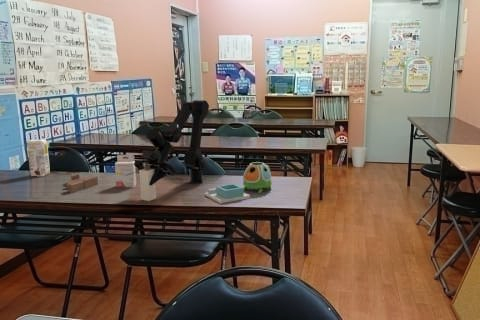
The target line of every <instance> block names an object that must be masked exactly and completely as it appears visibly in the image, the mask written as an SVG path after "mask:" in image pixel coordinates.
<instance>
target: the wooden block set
mask: <svg viewBox="0 0 480 320" xmlns="http://www.w3.org/2000/svg"><path fill="white" fill-rule="evenodd" d="M98 179H99V178H98V176H97V175H87V176H84V177H80V174H79V173H73V172H72V173H70V180H71V181H67V182H65V188H66V189H67V193H68V194H73V192H74V193H77V192H79V190H80V191H82V189H83V190H86V189H89V188H93V187H96V186H99V180H98ZM92 186H93V187H92ZM76 191H77V192H76Z"/></svg>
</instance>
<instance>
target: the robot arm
mask: <svg viewBox="0 0 480 320" xmlns="http://www.w3.org/2000/svg"><path fill="white" fill-rule="evenodd" d="M209 109H210V105H209V103H208V102H207V100H199V99H197V100H196V99H195V100H193V101H185V102H183V103H182V107H181V109H180V110H179V112H178V113H177V115H176V117H175V118H174V120H173V121H172V123H170V124H169V125H168V126H166V127H165V128H164V129H163V130H161V128H159V127H158V126H156V127H155V126H154V128H153V129H150V130H149V132H147V133H146V135H145V136H146V139H147V140H148V142H150V144H151V145H152V146H153V147H154V148H156V149H154V150H146V149H145V150H142V154H141V158H142V159H145V160H146V161H145V160H142V159H136V160H134V161H135V163H134V165H135V168H137V170H138V171H139V170H143V169H144V166H150V169H154V174H153V176H152V179H151V181H150V183H149V185H150V186H151V185H153V184H154V183H155V182H156V183H157V182H158V181H160V180H161V179H163V178H165V177H168V176H174V175H175V173H176V169H175V168H174V166H173V165H172V164H171V163H170V162H169V159H168V157H169V155H170V154H171V152H176V151H175V146H174V144H176V143H178V142H179V141H180V139H181V137H182V135H183V131H182V130H183V127H184V126H185V125H186V122H187V121H188V119H189V118H190V116H192V125H191V134H190V142H189V148H188V150H185V151H184V152H183V153H184V157H183V163H184V166H185V169H186V170H189V174H190V176H189V177H190V179H189V181H188V183H189V184H202V183H203V182H204V180H205V178H203V171H205V170H206V169H207V163H205V161H204V160H203V153H202V151H201V141H202V135H203V134H202V133H203V127H204V126H203V125H204V119H205V118H206V117H207V116H208V114H209V113H208V112H209ZM171 143H172V144H171Z"/></svg>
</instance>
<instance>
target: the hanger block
mask: <svg viewBox="0 0 480 320" xmlns="http://www.w3.org/2000/svg"><path fill="white" fill-rule="evenodd" d="M138 172H139V185H140V200H141V201H146V202H150V201H153V200H156V199H157V186H156V183H157V182H155V183H154V184H153V185H151V186H150V185H149V183H150V181H151V179H152V176H153V174H154V169H150V166H144V169H143V170H139V169H138Z"/></svg>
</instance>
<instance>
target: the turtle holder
mask: <svg viewBox="0 0 480 320" xmlns="http://www.w3.org/2000/svg"><path fill="white" fill-rule="evenodd" d="M272 178H273V177H272V172H271V169H270V166H269V165H268V164H265V163H264V162H260V161H256V162H254V161H253V162H251V163H249V165H248V166H247V167H246V169H245V170H244V173H243V176H242V179H243V182H242V184H243V188H244V191H248V189H251V190H258V191H257V194H261V193H263V192H264V191H263V189H267V188H268V190H269V191H271V190H272V188H273V187H272V183H273V182H272Z"/></svg>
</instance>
